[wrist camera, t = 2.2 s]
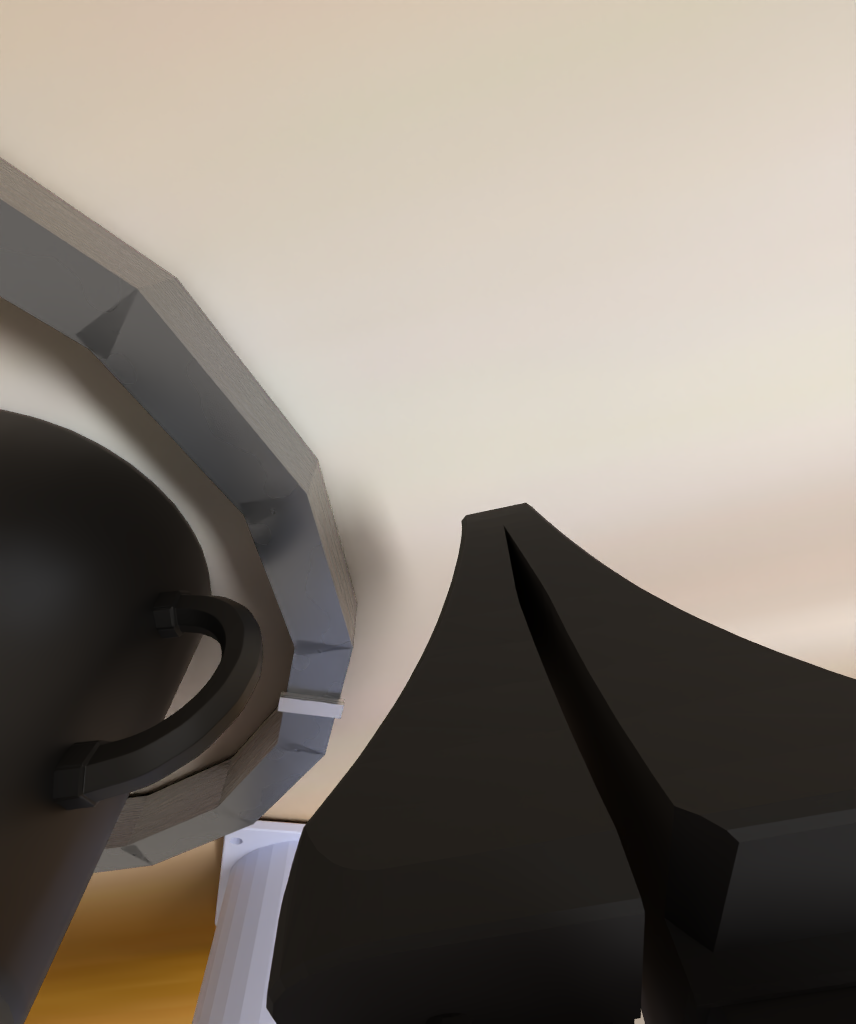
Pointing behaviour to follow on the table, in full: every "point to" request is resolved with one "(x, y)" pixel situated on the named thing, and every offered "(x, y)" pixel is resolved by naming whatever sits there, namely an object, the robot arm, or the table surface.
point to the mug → (92, 672)
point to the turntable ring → (232, 468)
